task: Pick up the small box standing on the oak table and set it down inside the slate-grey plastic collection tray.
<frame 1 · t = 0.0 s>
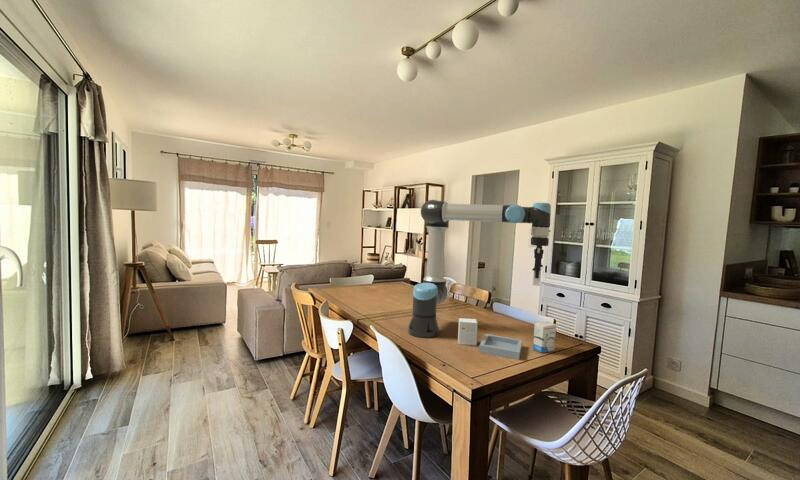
hand: (536, 282, 155), 28 cm above the table, fingers open, 13 cm apart
ink box: (543, 350, 149), on the table
tray: (501, 349, 147), on the table
small box: (466, 343, 153), on the table
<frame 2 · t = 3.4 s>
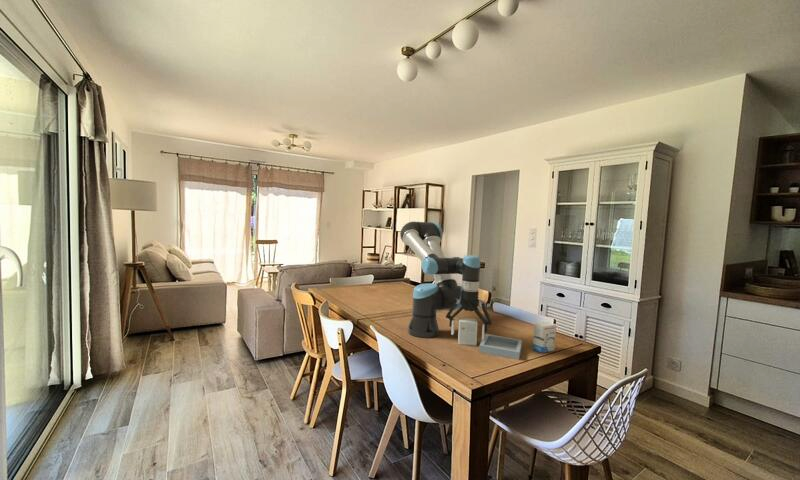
hand: (467, 336, 152), 3 cm above the table, fingers open, 13 cm apart
nothing on the table moved.
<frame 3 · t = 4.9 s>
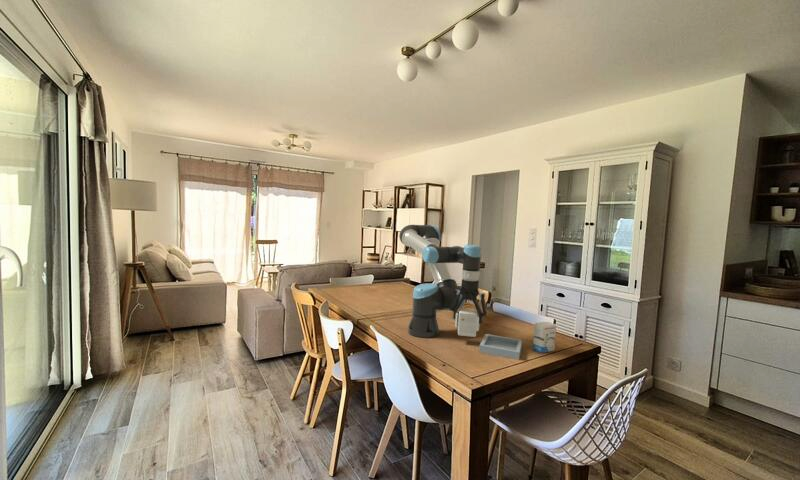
hand: (466, 328, 153), 7 cm above the table, fingers closed on small box, 9 cm apart
small box: (466, 334, 154), point 4 cm above the table, touching gripper
everything else where it was.
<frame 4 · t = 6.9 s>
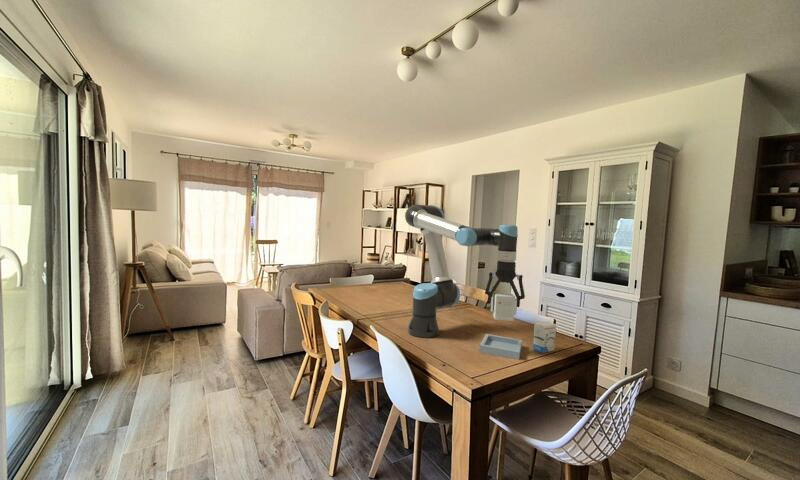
hand: (503, 312, 146), 16 cm above the table, fingers closed on small box, 9 cm apart
small box: (503, 319, 146), point 13 cm above the table, touching gripper
everything else where it was.
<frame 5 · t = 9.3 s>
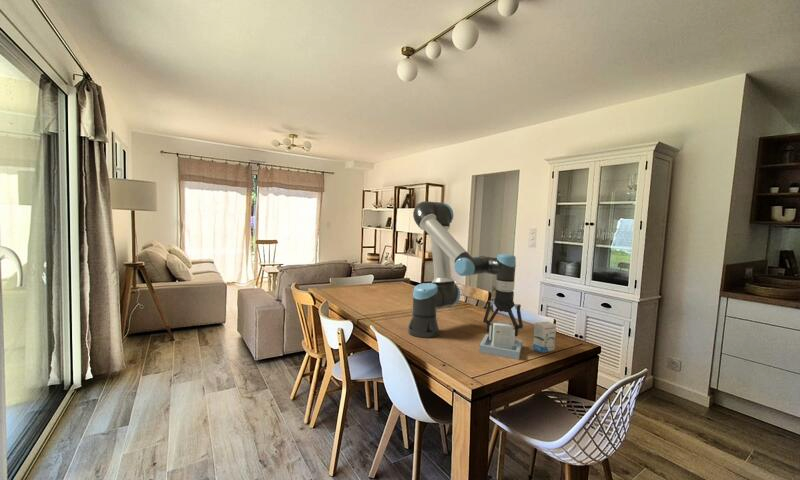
hand: (501, 341, 147), 4 cm above the table, fingers closed on small box, 9 cm apart
small box: (501, 347, 147), point 1 cm above the table, touching gripper, tray
everything else where it was.
when the fingers open (4 cm above the table, at t = 9.6 s): small box stays where it is, resting on tray.
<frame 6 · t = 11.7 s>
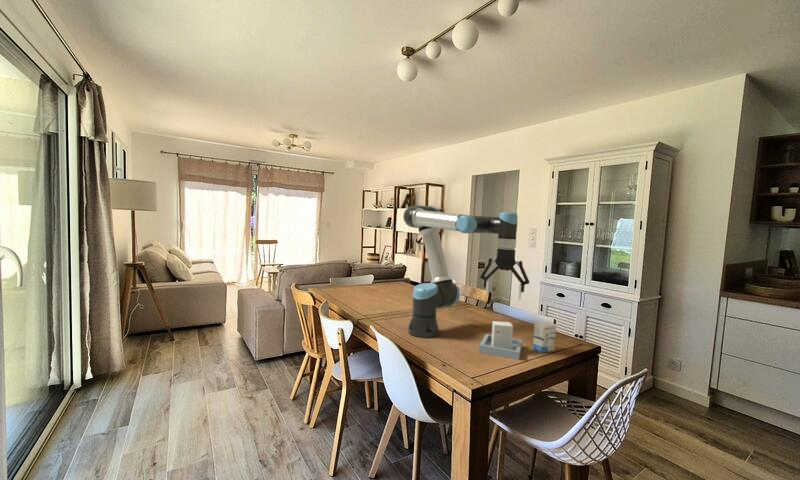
hand: (502, 297, 146), 23 cm above the table, fingers open, 13 cm apart
small box: (501, 347, 147), point 1 cm above the table, touching tray
everything else where it was.
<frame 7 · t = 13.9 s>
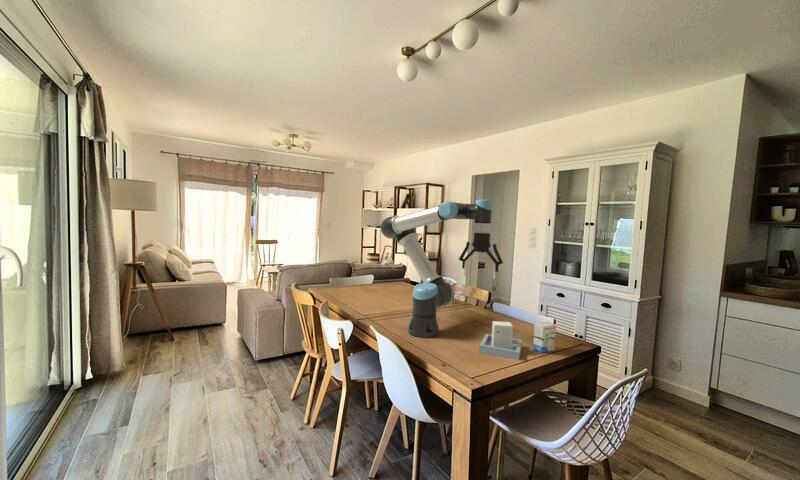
hand: (479, 277, 160), 29 cm above the table, fingers open, 13 cm apart
nothing on the table moved.
at the end: small box inside the target area on the tray (0.0 cm from its centre), point 0.8 cm above the tray's base; small box tilted 0°; the gripper is holding nothing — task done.
